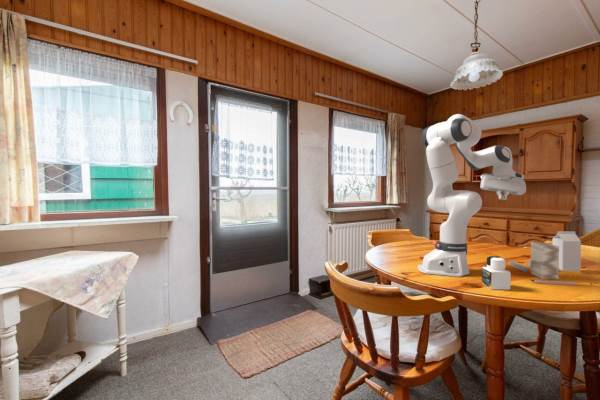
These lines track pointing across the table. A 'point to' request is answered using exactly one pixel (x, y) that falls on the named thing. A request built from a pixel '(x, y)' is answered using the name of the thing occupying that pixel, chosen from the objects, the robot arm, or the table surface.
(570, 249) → the milk carton
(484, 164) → the robot arm
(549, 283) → the chute
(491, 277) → the medicine bottle
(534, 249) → the block
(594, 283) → the table surface
